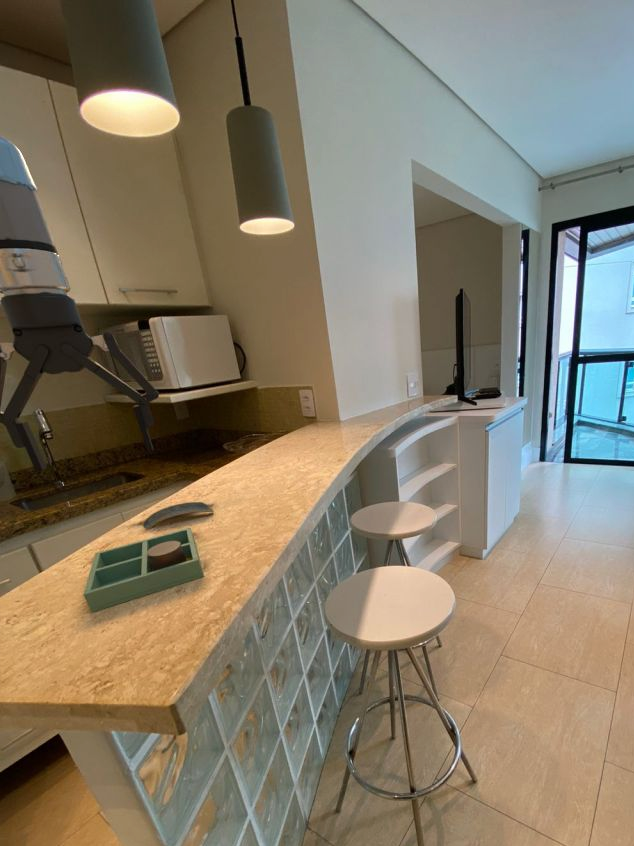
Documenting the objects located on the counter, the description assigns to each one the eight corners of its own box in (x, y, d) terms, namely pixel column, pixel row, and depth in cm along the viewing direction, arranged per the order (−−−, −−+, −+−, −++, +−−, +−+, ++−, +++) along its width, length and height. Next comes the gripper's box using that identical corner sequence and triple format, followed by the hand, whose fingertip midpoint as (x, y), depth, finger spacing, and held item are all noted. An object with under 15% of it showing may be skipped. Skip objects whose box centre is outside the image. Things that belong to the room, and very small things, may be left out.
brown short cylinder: (154, 568, 67) (146, 547, 66) (186, 558, 69) (179, 537, 68) (154, 581, 63) (146, 559, 62) (189, 571, 65) (181, 549, 64)
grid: (101, 568, 71) (95, 552, 70) (195, 541, 78) (190, 527, 76) (91, 612, 59) (83, 594, 57) (204, 576, 65) (198, 559, 64)
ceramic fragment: (144, 529, 86) (138, 513, 84) (148, 521, 90) (143, 505, 89) (214, 516, 90) (209, 499, 88) (215, 508, 94) (210, 492, 93)
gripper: (-118, 295, 43) (-20, 485, 51) (147, 287, 53) (192, 446, 61) (-84, 303, 49) (-2, 472, 57) (147, 294, 59) (188, 438, 68)
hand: (98, 459), depth 59 cm, fingers open, 13 cm apart
